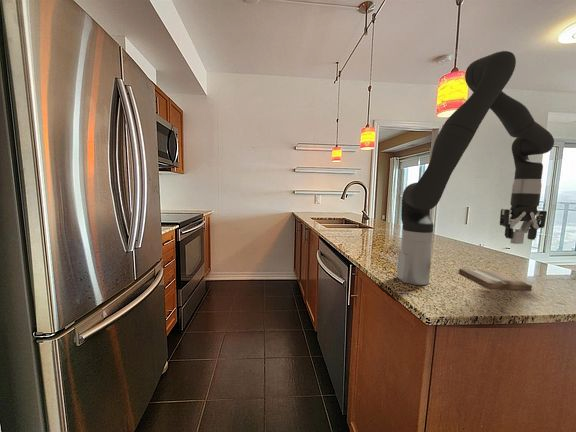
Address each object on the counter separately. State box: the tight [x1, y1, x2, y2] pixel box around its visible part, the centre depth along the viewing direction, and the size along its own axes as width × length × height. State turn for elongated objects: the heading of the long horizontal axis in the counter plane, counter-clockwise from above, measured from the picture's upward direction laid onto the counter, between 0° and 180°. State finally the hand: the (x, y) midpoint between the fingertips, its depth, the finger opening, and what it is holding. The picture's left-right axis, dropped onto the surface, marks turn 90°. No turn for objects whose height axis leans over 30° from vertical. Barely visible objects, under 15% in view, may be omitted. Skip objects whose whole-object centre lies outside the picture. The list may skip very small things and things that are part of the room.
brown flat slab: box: [458, 268, 533, 291], centre depth 90 cm, size 13×16×2 cm
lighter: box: [509, 221, 531, 245], centre depth 92 cm, size 7×2×8 cm, turn 108°
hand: (519, 238), depth 92 cm, fingers closed on lighter, 7 cm apart
